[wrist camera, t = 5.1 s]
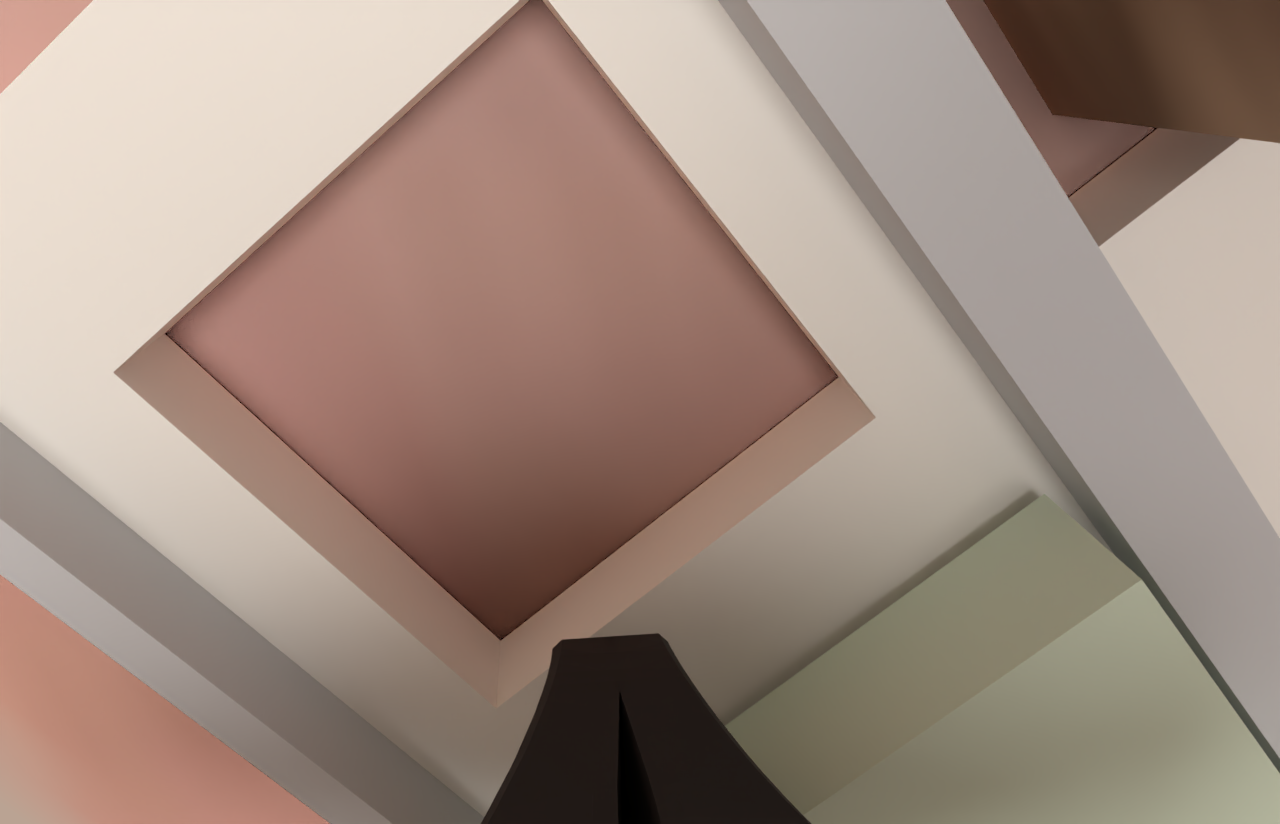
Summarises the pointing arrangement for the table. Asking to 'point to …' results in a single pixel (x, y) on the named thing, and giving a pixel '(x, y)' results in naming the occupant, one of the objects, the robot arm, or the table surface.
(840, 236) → the puzzle board
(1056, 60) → the walnut block
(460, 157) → the table surface
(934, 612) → the sliding cover
